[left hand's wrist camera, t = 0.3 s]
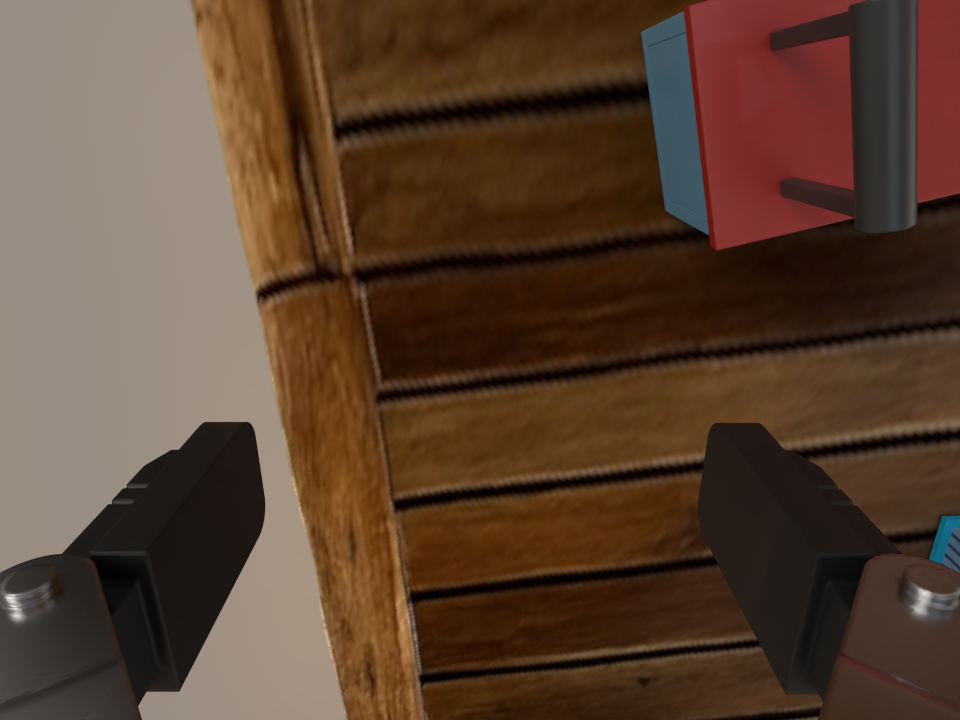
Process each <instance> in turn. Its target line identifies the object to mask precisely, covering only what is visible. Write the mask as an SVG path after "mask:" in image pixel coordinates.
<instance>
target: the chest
mask: <svg viewBox="0 0 960 720" xmlns="http://www.w3.org/2000/svg"><path fill="white" fill-rule="evenodd" d="M641 36H642V44H643V51H644V58H645V65H646V73H647V80H648V87H649V95H650V102H651V109H652V116H653V124H654V131H655V138H656V145H657V153H658V160H659V167H660V175H661V182H662V189H663V196H664V204H665V211H666V212H668V213H670V214H671V215H673V216H675V217H677V218H678V219H680V220H682V221H684V222H686V223H688V224H689V225H691V226H693V227H695V228H697V229H698V230H700V231H702V232H704V233H706V234H707V235H709V229H708V220H707V212H706V203H705V194H704V185H703V177H702V168H701V159H700V150H699V141H698V133H697V124H696V115H695V106H694V98H693V89H692V80H691V71H690V63H689V54H688V45H687V36H686V28H685V19H684V12H682V13H680V14H678V15H675V16H673V17H671V18H669V19H667V20H665V21H663V22H661V23H659V24H657V25H655V26H653V27H651V28H649V29H647V30H645V31H643V32H641Z"/></svg>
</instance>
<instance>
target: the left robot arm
mask: <svg viewBox="0 0 960 720" xmlns="http://www.w3.org/2000/svg"><path fill="white" fill-rule="evenodd" d="M698 515H699V522H700V527H701V531H702V534H703V536H704V538H705V540H706V542H707V544H708V546H709V548H710V550H711V552H712V553H713V555H714V557H715V559H716V561H717V563H718V565H719V567H720V569H721V571H722V573H723V575H724V577H725V578H726V580H727V582H728V584H729V586H730V588H731V590H732V592H733V594H734V596H735V598H736V600H737V601H738V603H739V605H740V607H741V609H742V611H743V613H744V615H745V617H746V619H747V621H748V623H749V625H750V626H751V628H752V630H753V632H754V634H755V636H756V638H757V640H758V642H759V644H760V646H761V648H762V649H763V651H764V653H765V655H766V657H767V659H768V661H769V663H770V665H771V667H772V669H773V671H774V672H775V674H776V676H777V678H778V680H779V682H780V684H781V686H782V688H783V690H784V692H785V694H819V695H820V697H821V698H822V700H823V705H822V708H821V712H820V715H819V719H818V720H960V573H959V572H957V571H955V570H953V569H951V568H949V567H947V566H945V565H942V564H940V563H937V562H934V561H931V560H928V559H925V558H921V557H916V556H912V555H904V554H902V553H901V552H900V551H899V550H898V549H897V548H896V547H895V546H894V545H893V544H892V543H891V542H890V541H889V540H888V539H887V538H886V537H885V535H884V534H883V533H882V532H881V531H880V530H879V529H878V528H877V527H876V526H875V525H874V524H873V523H872V522H871V521H870V520H869V519H868V517H867V516H866V515H865V514H864V513H863V512H862V511H861V510H860V509H859V508H858V507H857V506H853V502H852V501H851V499H850V498H849V497H848V496H847V495H846V494H845V493H844V492H843V491H842V490H838V486H837V485H836V484H835V483H834V481H833V480H832V479H831V478H830V477H829V476H828V475H827V474H826V473H825V472H824V471H823V470H822V469H821V468H820V467H819V466H817V465H816V464H814V463H812V462H810V461H809V460H807V459H805V458H804V457H802V456H800V455H798V454H797V453H795V452H793V451H785V450H784V449H783V448H782V447H781V446H780V444H779V443H778V442H777V441H776V440H775V439H774V438H773V436H772V435H771V434H770V433H769V432H768V431H767V430H766V429H765V427H764V426H763V425H761V424H759V423H715V424H713V425H712V427H711V429H710V431H709V434H708V440H707V446H706V453H705V460H704V466H703V473H702V480H701V486H700V493H699V500H698ZM264 516H265V497H264V490H263V483H262V476H261V469H260V463H259V456H258V449H257V442H256V436H255V432H254V429H253V427H252V425H251V424H250V423H248V422H204V423H202V424H201V425H200V426H199V428H198V429H197V430H196V431H195V432H194V433H193V434H192V435H191V437H190V438H189V439H188V440H187V441H186V442H185V443H184V445H183V446H182V447H181V448H180V449H179V450H170V451H169V452H167V453H165V454H164V455H162V456H160V457H159V458H157V459H155V460H153V461H152V462H150V463H148V464H147V465H145V466H144V467H143V468H142V469H141V470H140V471H139V472H138V473H137V474H136V475H135V476H134V477H133V478H132V480H131V481H130V482H129V483H128V484H127V488H123V489H122V490H121V491H120V492H119V493H118V494H117V496H116V497H115V498H114V499H113V500H112V504H108V505H107V506H106V507H105V508H104V509H103V511H102V512H101V513H100V514H99V515H98V516H97V517H96V518H95V519H94V520H93V521H92V522H91V523H90V524H89V525H88V527H87V528H86V529H85V530H84V531H83V532H82V533H81V534H80V535H79V536H78V537H77V538H76V539H75V540H74V542H73V543H72V544H71V545H70V546H69V547H68V548H67V549H66V550H65V551H64V552H63V553H62V554H56V555H48V556H44V557H39V558H35V559H32V560H29V561H26V562H23V563H20V564H18V565H15V566H13V567H11V568H9V569H7V570H5V571H3V572H1V573H0V720H142V719H141V715H140V712H139V708H138V705H139V704H140V702H141V700H142V698H143V697H144V695H145V693H146V692H179V691H180V689H181V687H182V685H183V683H184V681H185V679H186V677H187V676H188V674H189V672H190V670H191V668H192V666H193V664H194V662H195V660H196V658H197V656H198V654H199V652H200V650H201V648H202V646H203V644H204V643H205V640H206V639H207V637H208V635H209V633H210V631H211V629H212V627H213V625H214V623H215V621H216V619H217V617H218V615H219V613H220V611H221V609H222V608H223V606H224V604H225V602H226V600H227V598H228V596H229V594H230V592H231V590H232V588H233V586H234V584H235V582H236V580H237V578H238V576H239V575H240V573H241V571H242V569H243V567H244V565H245V563H246V561H247V559H248V557H249V555H250V553H251V551H252V549H253V547H254V545H255V543H256V541H257V539H258V538H259V536H260V533H261V530H262V527H263V523H264Z"/></svg>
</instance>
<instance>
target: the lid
mask: <svg viewBox="0 0 960 720" xmlns="http://www.w3.org/2000/svg"><path fill="white" fill-rule="evenodd" d="M684 19H685V28H686V36H687V45H688V54H689V63H690V71H691V80H692V89H693V98H694V106H695V115H696V124H697V133H698V141H699V150H700V159H701V168H702V177H703V185H704V194H705V203H706V212H707V220H708V229H709V238H710V246H711V248H713V249H715V250H722V249H726V248H730V247H734V246H739V245H743V244H747V243H751V242H756V241H760V240H764V239H768V238H772V237H777V236H781V235H785V234H789V233H794V232H798V231H802V230H806V229H810V228H815V227H819V226H823V225H827V224H832V223H836V222H840V221H844V220H848V219H853V218H854V219H855V229H856V231H858V232H862V233H873V234H876V233H889V232H895V231H900V230H904V229H907V228H910V227H912V226H914V225H915V224H916V223H917V203H920V202H924V201H929V200H933V199H937V198H941V197H946V196H950V195H954V194H958V193H960V0H707V1H703V2H699V3H696V4H692V5H689V6H687V7H685V8H684Z"/></svg>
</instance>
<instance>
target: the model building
mask: <svg viewBox="0 0 960 720" xmlns="http://www.w3.org/2000/svg"><path fill="white" fill-rule="evenodd" d="M929 560H931V561H934V562H937V563H940V564H942V565H945V566H947V567H949V568H951V569H953V570H955V571H957V572H959V573H960V516H942V518H941V521H940V525H939V528H938V531H937V535H936V538H935V541H934V544H933V548H932V551H931V554H930V557H929Z"/></svg>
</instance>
